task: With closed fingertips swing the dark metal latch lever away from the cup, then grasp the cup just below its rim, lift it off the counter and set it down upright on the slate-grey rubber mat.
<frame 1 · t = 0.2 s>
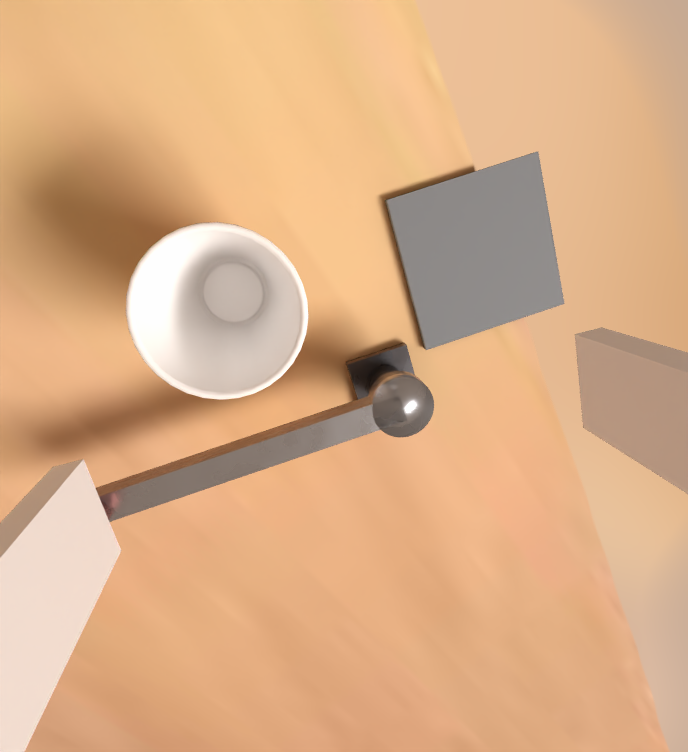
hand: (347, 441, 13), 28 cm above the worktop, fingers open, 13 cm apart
mat: (477, 254, 40), on the worktop
latch post: (383, 380, 42), on the worktop
cup: (234, 292, 39), on the worktop
lever: (256, 461, 35), point 7 cm above the worktop, hinge at 0.0°
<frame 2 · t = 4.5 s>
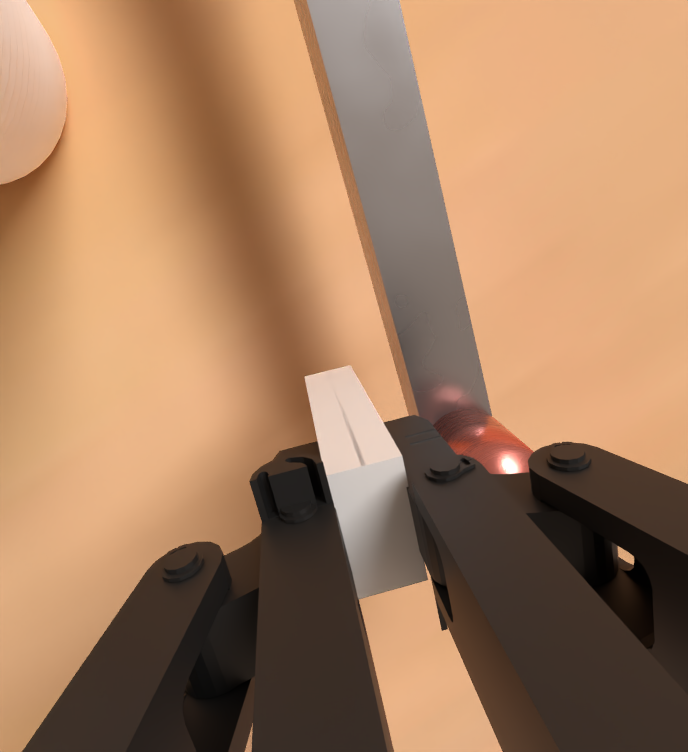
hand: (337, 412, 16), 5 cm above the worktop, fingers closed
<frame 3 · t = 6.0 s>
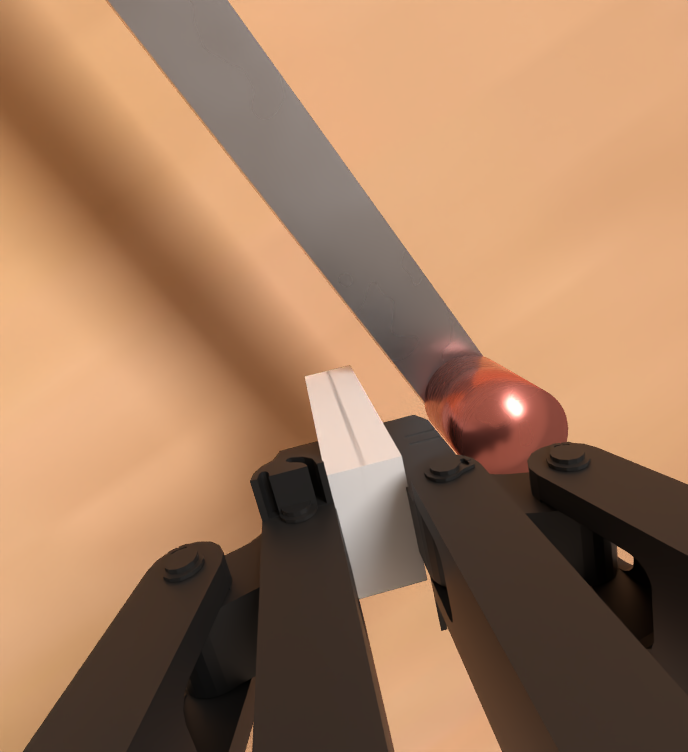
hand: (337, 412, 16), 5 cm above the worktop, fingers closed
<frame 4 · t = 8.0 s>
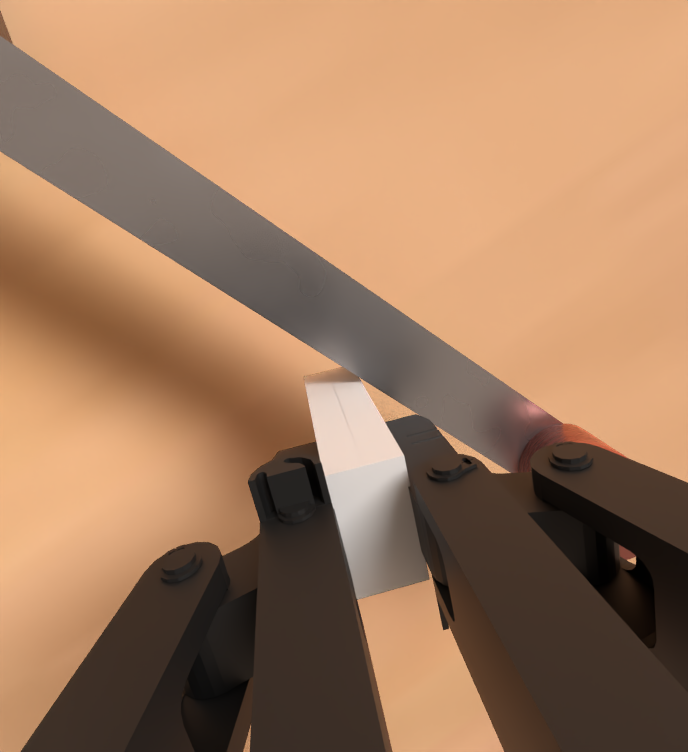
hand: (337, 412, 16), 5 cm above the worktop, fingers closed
lever: (194, 225, 11), point 8 cm above the worktop, hinge at 42.8°, touching gripper
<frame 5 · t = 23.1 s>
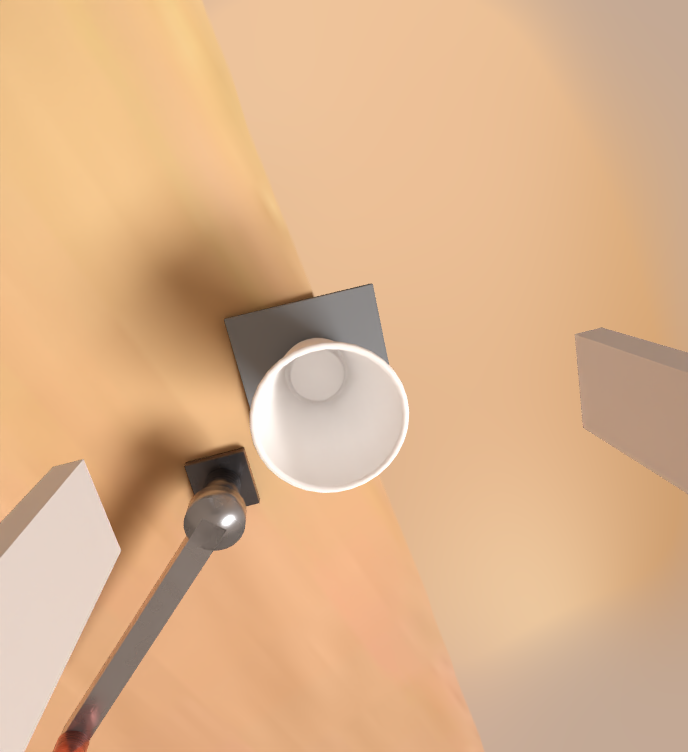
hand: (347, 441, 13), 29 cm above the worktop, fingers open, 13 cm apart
mat: (316, 371, 43), on the worktop
latch post: (223, 480, 44), on the worktop
cup: (316, 372, 42), resting on mat
lever: (142, 639, 39), point 7 cm above the worktop, hinge at 44.1°
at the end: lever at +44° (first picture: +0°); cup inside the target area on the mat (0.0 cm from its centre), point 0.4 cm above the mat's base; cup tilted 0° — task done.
